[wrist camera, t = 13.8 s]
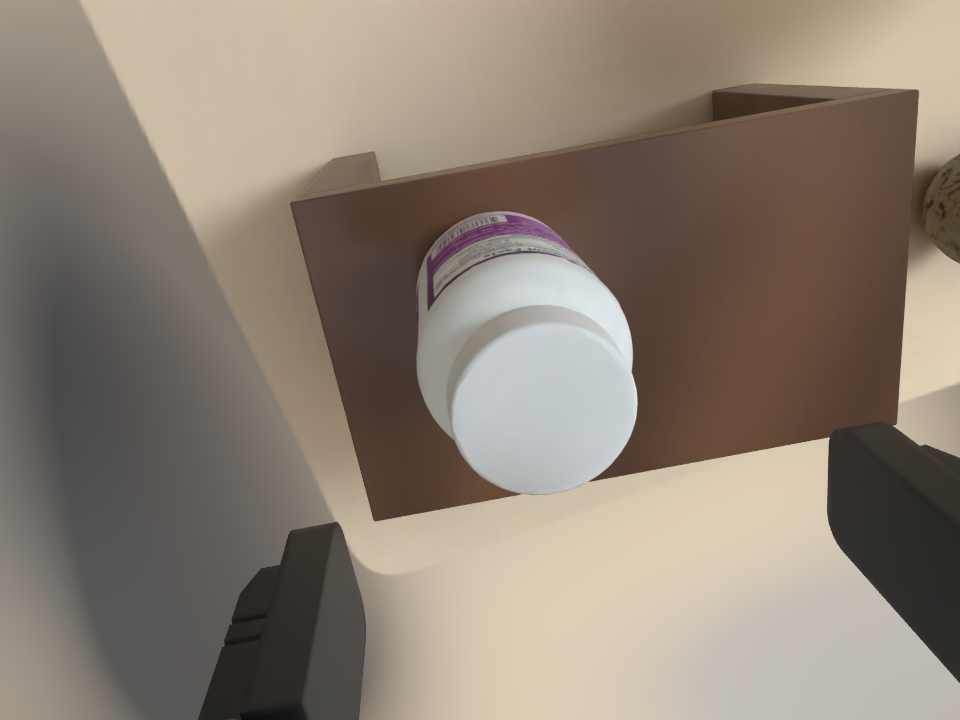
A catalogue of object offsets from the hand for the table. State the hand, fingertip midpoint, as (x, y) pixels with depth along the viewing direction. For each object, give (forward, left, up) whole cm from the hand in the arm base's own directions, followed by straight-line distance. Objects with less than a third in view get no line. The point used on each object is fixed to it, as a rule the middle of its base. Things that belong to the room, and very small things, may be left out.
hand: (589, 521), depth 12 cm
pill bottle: (0, 0, -13) cm, 13 cm away
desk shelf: (+4, -2, -25) cm, 26 cm away
